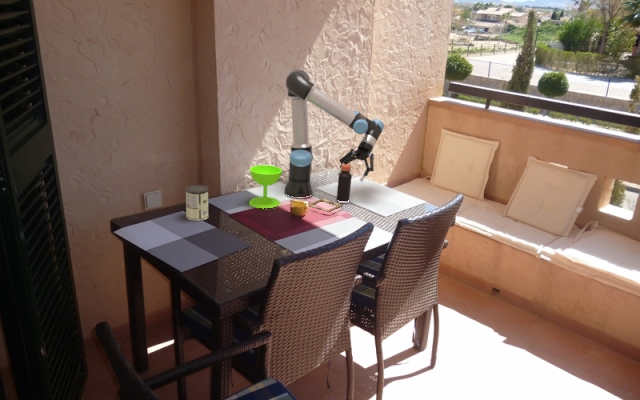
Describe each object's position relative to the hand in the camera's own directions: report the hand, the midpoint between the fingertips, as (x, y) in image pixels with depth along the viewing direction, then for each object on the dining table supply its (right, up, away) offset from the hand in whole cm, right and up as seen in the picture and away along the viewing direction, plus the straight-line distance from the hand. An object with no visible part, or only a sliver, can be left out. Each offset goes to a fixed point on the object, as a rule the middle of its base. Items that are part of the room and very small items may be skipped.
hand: (349, 177), depth 270 cm
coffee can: (-73, -20, -31) cm, 82 cm away
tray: (-13, -17, -10) cm, 23 cm away
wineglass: (-44, -14, -8) cm, 47 cm away
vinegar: (-4, -13, +3) cm, 14 cm away
